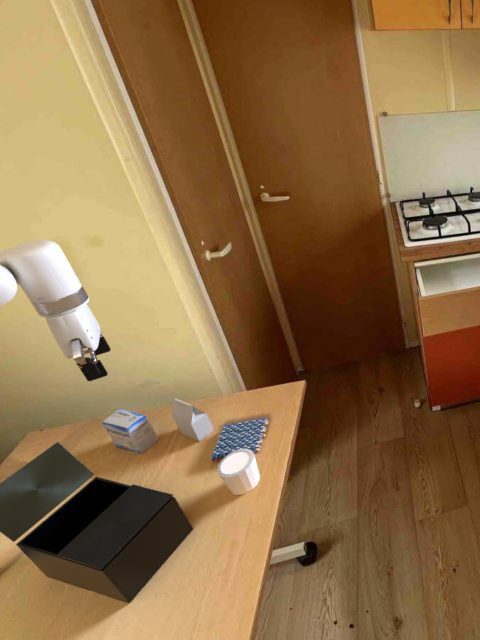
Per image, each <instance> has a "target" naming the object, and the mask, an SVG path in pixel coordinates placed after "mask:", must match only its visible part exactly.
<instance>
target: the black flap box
mask: <svg viewBox="0 0 480 640" xmlns="http://www.w3.org/2000/svg"><path fill="white" fill-rule="evenodd" d="M193 531H194V527H193V525H192V524H191V522H190V520H189V518H188V517H187V516H186V514H185V512H184V511H183V508H182V507H181V506H180V503H179V502H178V501H177V499H176V497H175V496H174V495H173V494H172V493H168V492H165V491H160V490H157V489H153V488H150V487H145V486H141V485H136V484H131V485H130V484H126V483H122V482H120V481H119V482H118V481H115V480H111V479H106V478H103V477H99V476H95V477H94V478H92V480H90V481H89V482H88V483H87V484H85V486H83V487H82V488H81V489H80V490H78V492H76V493H75V494H74V495H73V496H71V498H69V499H68V500H67V501H65V502H64V503H63V504H62V505H61V506H59V508H57V509H56V510H54V512H52V513H51V514H50V515H49V516H47V518H46V519H44V520H43V521H42V522H40V523H39V525H37V526H36V527H35V528H34V529H33V530H31V531H30V532H29V533H27V534H26V535H25V536H24V537H23V538H21V540H20V541H18V542H17V543H16V544H15V545H16V546H17V547H18V548H19V550H21V552H22V553H23V554H24V555H25V556H26V557H27V558H28V559H29V560H30V561H31V562H32V563H33V564H34V565H35V566H36V567H37V568H38V569H39V571H40V572H42V573H43V574H44V576H45V577H47V578H49V579H53V580H56V581H58V582H62V583H65V584H68V585H71V586H74V587H77V588H81V589H83V590H87V591H90V592H92V593H96V594H98V595H102V596H105V597H108V598H111V599H113V600H118V601H120V602H123V603H127V604H131V602H133V600H134V599H135V598H136V597H137V595H138V594H139V593H140V592H141V591H142V590H143V588H145V586H146V585H147V584H148V583H149V582H150V581H151V579H152V578H153V577H154V576H155V575H156V574H157V572H158V571H160V569H161V568H162V566H163V565H165V563H166V562H167V561H168V560H169V558H170V557H171V556H172V555H173V554H174V552H176V550H177V549H179V547H180V545H181V544H182V543H183V542H184V541H185V540H186V538H188V537H189V535H190V534H191V533H192V532H193Z"/></svg>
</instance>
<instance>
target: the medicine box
mask: <svg viewBox="0 0 480 640" xmlns="http://www.w3.org/2000/svg"><path fill="white" fill-rule="evenodd" d="M151 423H152V422H150V420H149V418H148V416H147V415H146V414H142V413H138V412H135V411H131V410H128V409H127V410H126V409H123V408H119V409H118V410H116V411H115V412H113V413H112V414H110V415H109V416H108V417H106V418H104V420H103V421H101V424H102V426H103V428H104V429H105V431H106V432H107V435H108V436H109V437H110V439H111V441H112V442H113V445H114V446H115V447H116V448H119V449H123V450H127V451H130V452H134V453H137V454H141V455H143V454H144V453H145V452H146V451H147V450H148V449H149V448H151V447H152V446H153V445H154V444H156V443H157V442H158V441H159V440H160V439H159V437H158V434H157V432H156V431H155V429H154V426H153V425H152V424H151Z"/></svg>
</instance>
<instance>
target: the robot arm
mask: <svg viewBox="0 0 480 640" xmlns="http://www.w3.org/2000/svg"><path fill="white" fill-rule="evenodd" d="M18 286H19V287H20V288H21V289H22V291H23V293H24V294H25V296H26V297H27V299H28V300H29V302H30V304H31V305H32V306H33V308H34V309H35V311H36V313H37V314H38V316H39V317H42V318H45V320H46V323H47V325H48V328H49V331H50V332H51V334H52V336H53V338H54V339H55V342H56V343H57V345H58V347H59V349H60V350H61V352H62V354H63V356H64V358H66V359H68V360H71V359H72V358H73V360H74V362H75V363H76V366H77V368H78V369H79V370H80V372H81V373H82V375H83V376H84V378H85V379H86V381H87V382H92V381H95V380H98V379H102V378H104V377H107V376H108V375H109V373H108V371H107V369H106V368H105V365H104V364H103V363H102V361H101V359H98V357H97V356H100V355H104V354H106V353H109V352H111V350H112V348H111V347H110V345H109V343H108V341H107V340H106V338H105V336H103V333H102V331H101V327H100V324H99V322H98V320H97V319H96V317H95V314H94V313H93V312H92V309H91V308H90V307H89V305H88V303H89V302H90V297H89V295H88V294H87V292H86V290H85V288H84V287H83V285H82V283H81V281H80V279H79V277H78V275H77V274H76V272H75V271H74V268H73V267H72V265H71V263H70V261H69V259H68V258H67V256H66V255H65V253H64V250H63V249H62V248H61V246H60V245H59V244H58V243H57V242H55V241H53V240H45V239H43V240H32V241H27V242H24V243H21V244H18V245H15V246H13V247H9V248H4V249H3V248H2V249H0V307H3V306H5V305H6V304H8V303H10V302H11V301H12V300H13V299H14V298H15V297H16V294H17V291H18ZM84 349H85V350H84ZM88 354H89V355H90V357H89V356H87V357H86V355H88Z"/></svg>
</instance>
